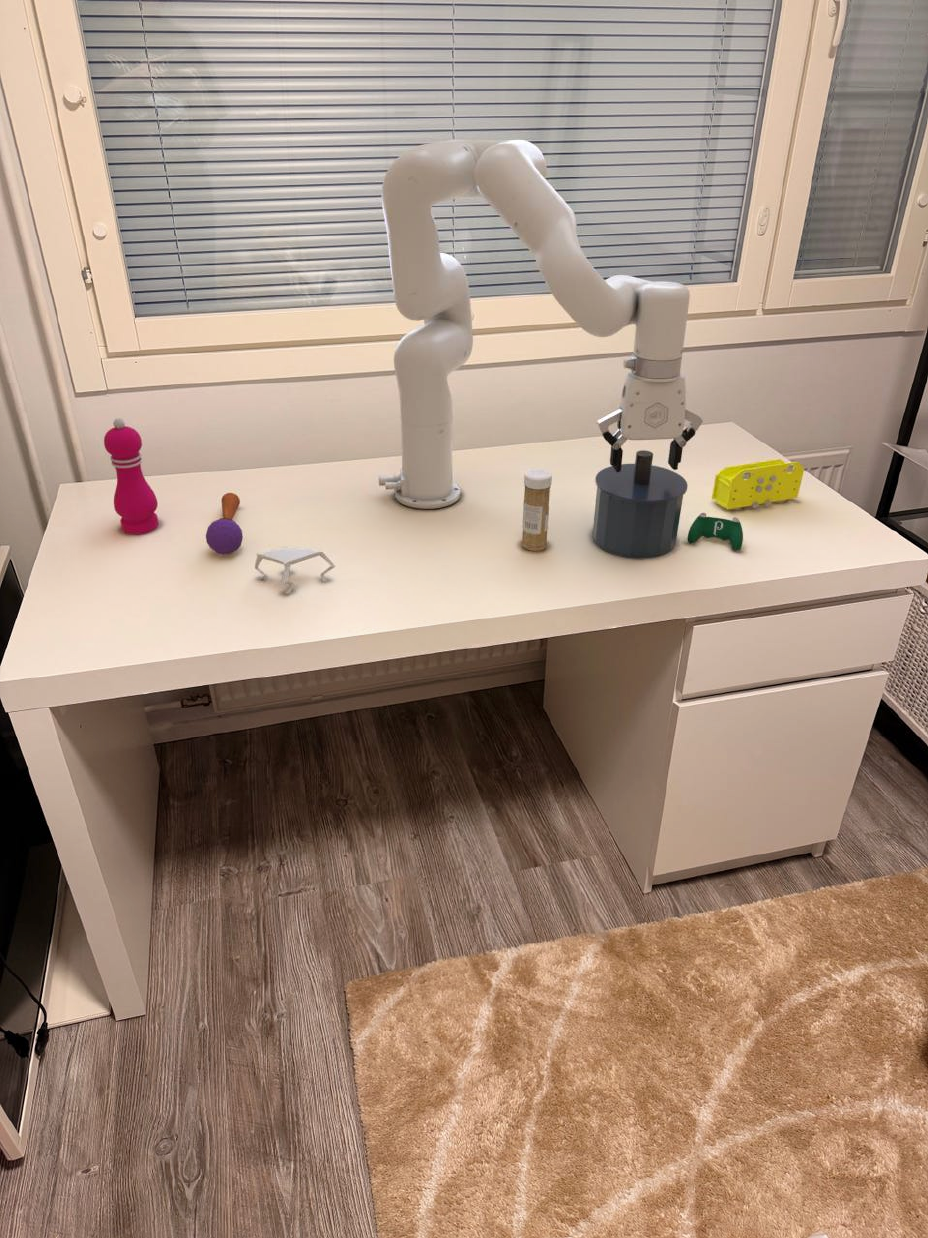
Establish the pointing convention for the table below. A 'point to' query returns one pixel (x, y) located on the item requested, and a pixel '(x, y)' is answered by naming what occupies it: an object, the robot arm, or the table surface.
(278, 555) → the grey toy table
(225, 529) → the purple maraca
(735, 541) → the gaming controller
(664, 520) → the pot
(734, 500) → the yellow toy chassis
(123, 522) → the pepper mill
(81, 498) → the table surface
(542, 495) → the sprinkles bottle
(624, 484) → the lid
